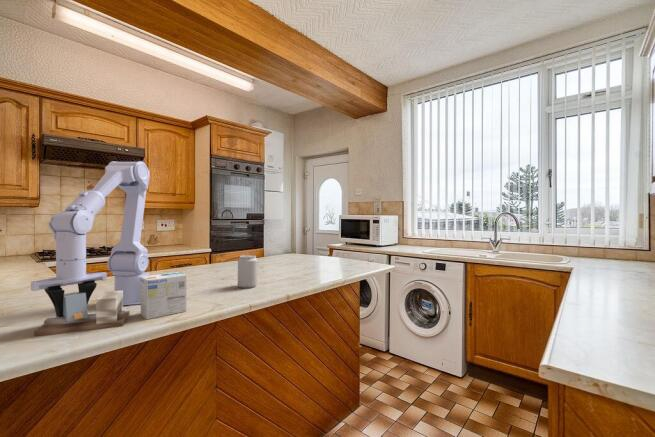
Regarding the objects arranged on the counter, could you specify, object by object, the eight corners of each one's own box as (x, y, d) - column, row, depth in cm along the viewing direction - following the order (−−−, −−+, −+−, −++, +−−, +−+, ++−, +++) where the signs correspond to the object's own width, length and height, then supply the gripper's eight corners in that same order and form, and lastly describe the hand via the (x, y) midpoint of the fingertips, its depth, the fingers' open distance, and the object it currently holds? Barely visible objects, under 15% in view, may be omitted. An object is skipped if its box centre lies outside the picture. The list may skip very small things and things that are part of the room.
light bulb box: (179, 306, 93) (179, 271, 93) (187, 311, 88) (187, 274, 88) (139, 314, 85) (139, 275, 85) (145, 320, 81) (145, 279, 80)
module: (75, 314, 80) (73, 292, 80) (88, 317, 75) (86, 293, 75) (55, 319, 76) (53, 295, 77) (68, 322, 72) (66, 297, 72)
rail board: (129, 314, 85) (129, 289, 85) (122, 325, 76) (122, 298, 76) (51, 322, 78) (51, 295, 78) (34, 335, 70) (34, 305, 69)
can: (234, 288, 116) (234, 256, 115) (242, 283, 123) (242, 253, 123) (252, 289, 114) (253, 257, 114) (260, 284, 122) (260, 254, 121)
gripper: (98, 254, 84) (98, 303, 84) (26, 261, 72) (26, 318, 72) (110, 257, 80) (110, 308, 80) (36, 264, 68) (36, 325, 68)
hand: (71, 313), depth 76 cm, fingers closed on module, 4 cm apart
